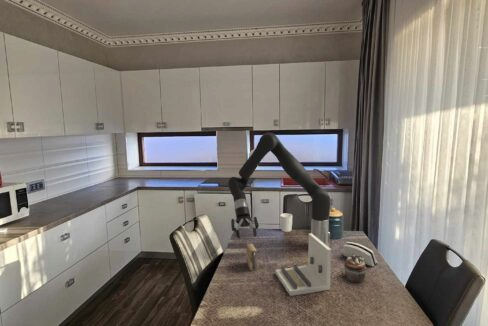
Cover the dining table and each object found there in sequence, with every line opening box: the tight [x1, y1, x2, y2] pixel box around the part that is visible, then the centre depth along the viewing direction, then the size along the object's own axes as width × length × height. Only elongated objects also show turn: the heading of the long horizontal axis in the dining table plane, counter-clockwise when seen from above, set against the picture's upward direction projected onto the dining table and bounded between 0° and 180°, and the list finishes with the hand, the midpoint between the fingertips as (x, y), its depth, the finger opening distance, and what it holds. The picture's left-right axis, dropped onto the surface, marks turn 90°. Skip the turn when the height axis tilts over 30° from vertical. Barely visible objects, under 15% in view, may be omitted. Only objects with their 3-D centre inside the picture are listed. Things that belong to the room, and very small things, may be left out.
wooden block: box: [245, 243, 258, 271], centre depth 144 cm, size 3×9×10 cm, turn 13°
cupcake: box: [344, 254, 368, 283], centre depth 133 cm, size 10×10×10 cm
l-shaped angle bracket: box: [275, 232, 332, 297], centre depth 130 cm, size 18×18×18 cm
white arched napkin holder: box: [342, 241, 379, 268], centre depth 149 cm, size 17×5×10 cm, turn 38°
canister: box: [329, 207, 345, 240], centre depth 180 cm, size 13×13×18 cm
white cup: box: [279, 212, 293, 233], centre depth 191 cm, size 8×8×10 cm
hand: (247, 237), depth 152 cm, fingers open, 8 cm apart
